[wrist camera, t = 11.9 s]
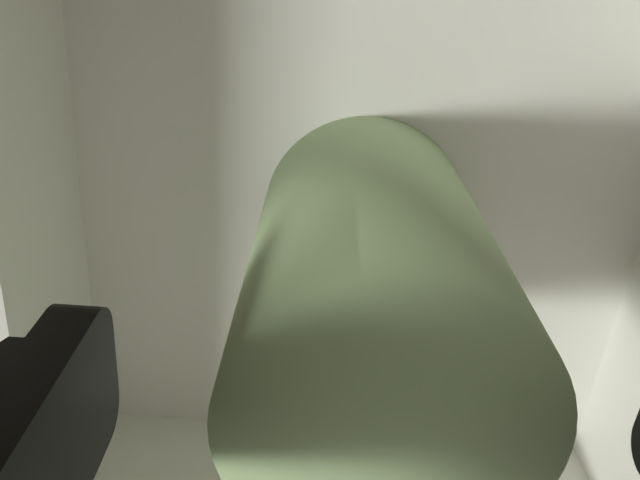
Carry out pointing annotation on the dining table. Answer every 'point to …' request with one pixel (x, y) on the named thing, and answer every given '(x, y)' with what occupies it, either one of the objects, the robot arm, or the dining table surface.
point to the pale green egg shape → (384, 328)
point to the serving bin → (269, 148)
